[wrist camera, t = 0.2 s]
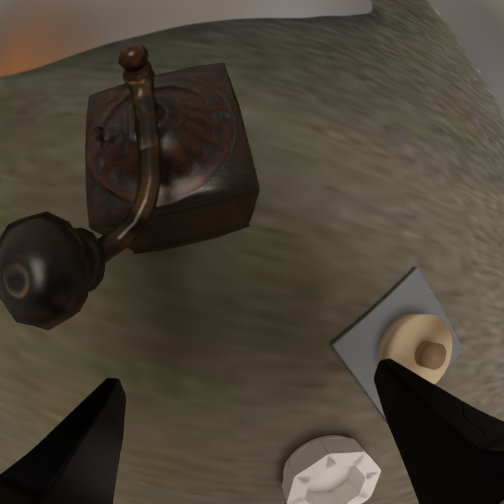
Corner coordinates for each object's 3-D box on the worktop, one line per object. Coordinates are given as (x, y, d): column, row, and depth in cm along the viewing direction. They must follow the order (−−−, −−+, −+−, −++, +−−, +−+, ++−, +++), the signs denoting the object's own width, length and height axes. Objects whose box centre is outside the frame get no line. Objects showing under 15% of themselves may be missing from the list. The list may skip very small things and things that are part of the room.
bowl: (374, 464, 23) (391, 481, 19) (310, 507, 22) (319, 529, 18) (336, 419, 23) (352, 436, 20) (265, 467, 22) (270, 490, 18)
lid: (444, 350, 24) (473, 355, 20) (397, 398, 23) (424, 412, 19) (414, 298, 25) (444, 297, 20) (363, 347, 24) (389, 356, 19)
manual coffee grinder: (115, 152, 26) (23, 18, 8) (227, 124, 27) (227, -45, 9) (138, 316, 24) (-19, 339, 6) (267, 287, 25) (350, 263, 7)
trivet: (459, 349, 25) (463, 349, 24) (387, 424, 23) (390, 426, 23) (414, 267, 26) (417, 267, 25) (330, 344, 24) (332, 345, 24)
